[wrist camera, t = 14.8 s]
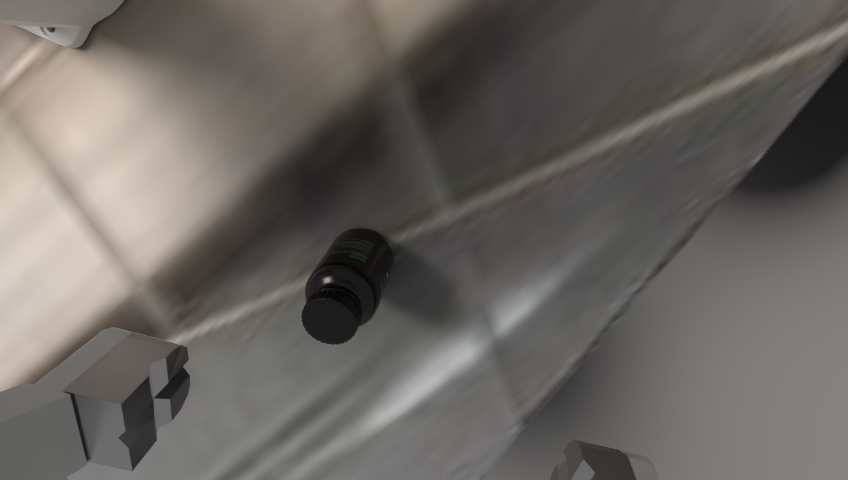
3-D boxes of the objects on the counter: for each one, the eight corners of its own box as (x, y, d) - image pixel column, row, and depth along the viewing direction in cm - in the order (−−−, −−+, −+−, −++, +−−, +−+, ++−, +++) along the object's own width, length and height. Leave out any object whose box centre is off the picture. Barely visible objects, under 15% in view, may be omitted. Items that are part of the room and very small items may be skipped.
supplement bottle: (386, 288, 47) (360, 363, 36) (328, 272, 47) (284, 342, 36) (400, 236, 44) (376, 301, 33) (337, 219, 44) (293, 277, 33)
